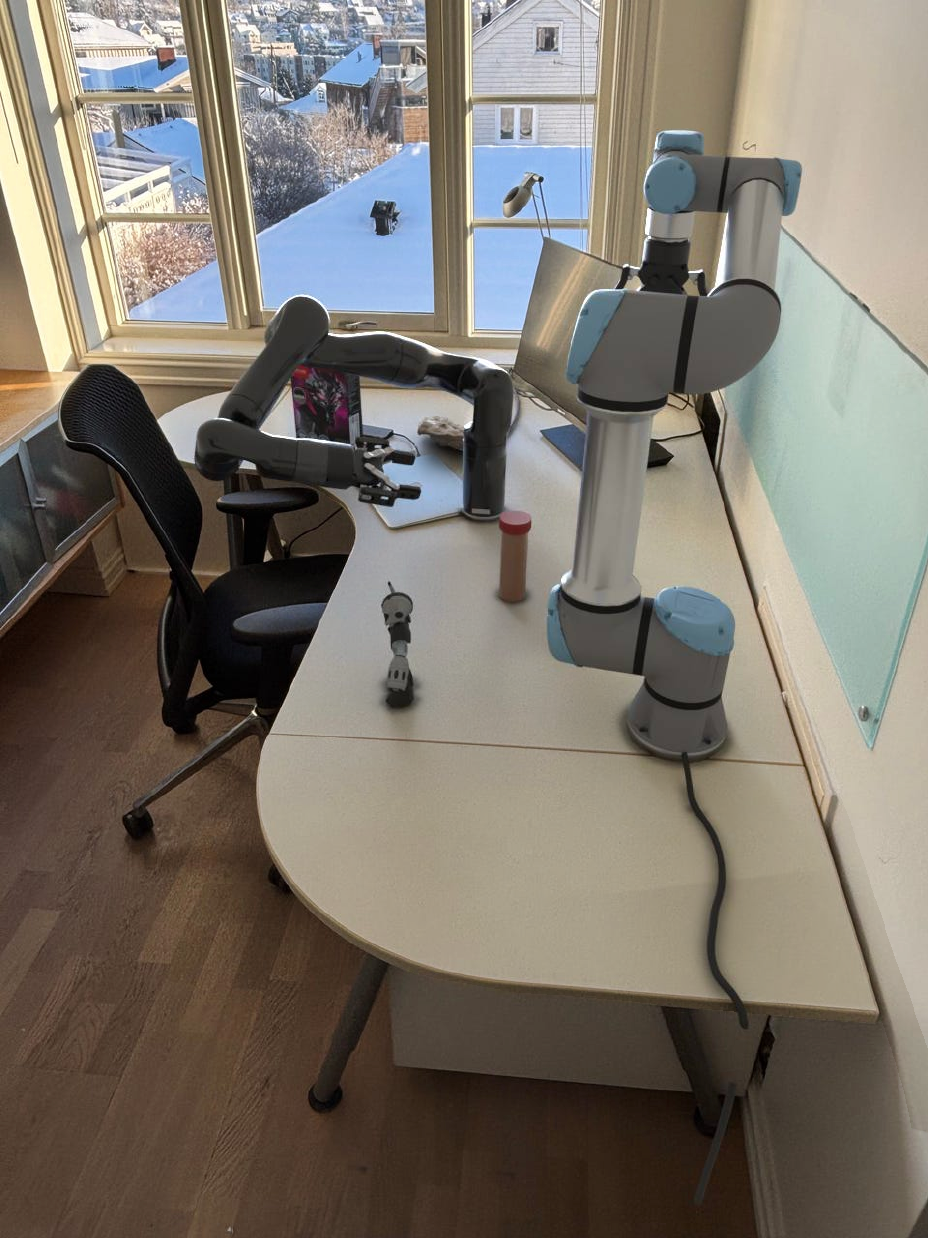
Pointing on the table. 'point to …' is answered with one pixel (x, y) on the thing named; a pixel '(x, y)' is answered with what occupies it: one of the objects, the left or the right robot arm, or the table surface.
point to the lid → (515, 522)
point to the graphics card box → (326, 405)
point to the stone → (442, 431)
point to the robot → (398, 647)
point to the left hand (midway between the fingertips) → (417, 476)
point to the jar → (513, 566)
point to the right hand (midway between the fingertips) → (652, 364)
